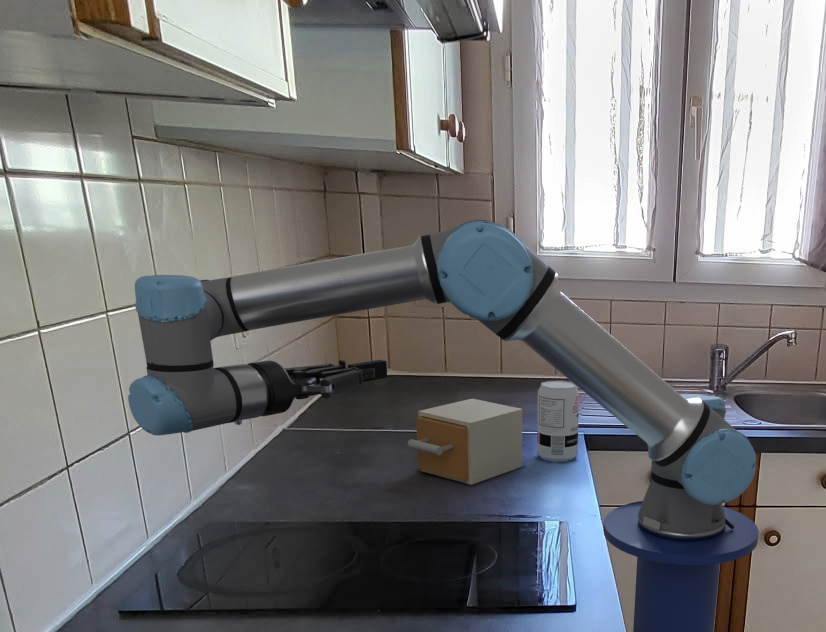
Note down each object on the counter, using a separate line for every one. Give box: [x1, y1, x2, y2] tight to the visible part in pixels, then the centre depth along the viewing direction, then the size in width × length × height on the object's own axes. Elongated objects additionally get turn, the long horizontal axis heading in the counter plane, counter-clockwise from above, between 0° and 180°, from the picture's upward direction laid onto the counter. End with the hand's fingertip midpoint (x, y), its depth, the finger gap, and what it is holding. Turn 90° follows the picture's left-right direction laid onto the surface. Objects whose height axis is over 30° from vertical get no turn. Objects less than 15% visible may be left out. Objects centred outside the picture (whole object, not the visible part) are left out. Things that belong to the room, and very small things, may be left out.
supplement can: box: [536, 380, 580, 463], centre depth 167 cm, size 8×8×15 cm
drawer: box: [407, 416, 469, 481], centre depth 154 cm, size 18×11×10 cm, turn 150°
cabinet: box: [417, 398, 523, 486], centre depth 157 cm, size 15×13×12 cm
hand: (383, 368), depth 135 cm, fingers closed
